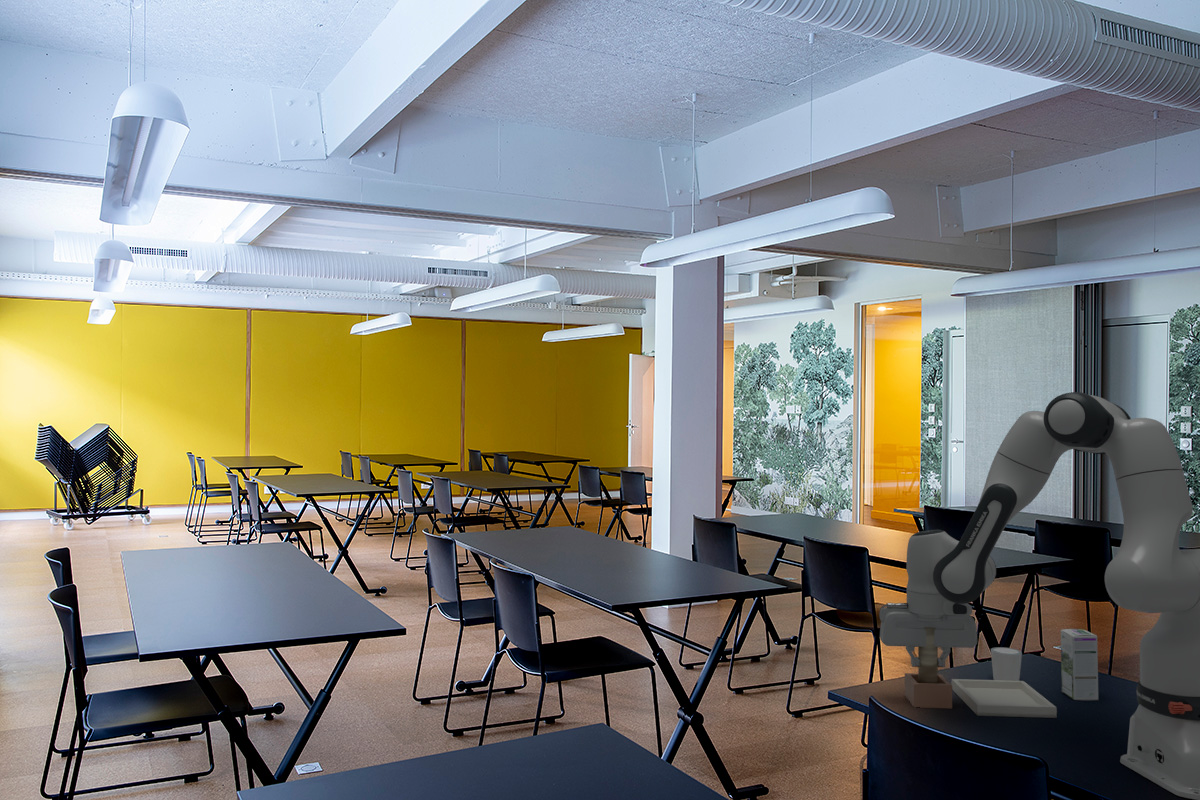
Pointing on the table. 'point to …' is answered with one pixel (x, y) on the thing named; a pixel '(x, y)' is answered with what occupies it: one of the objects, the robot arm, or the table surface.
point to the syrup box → (1079, 664)
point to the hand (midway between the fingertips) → (928, 666)
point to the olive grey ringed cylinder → (928, 659)
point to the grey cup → (1006, 663)
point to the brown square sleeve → (928, 692)
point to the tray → (1003, 698)
